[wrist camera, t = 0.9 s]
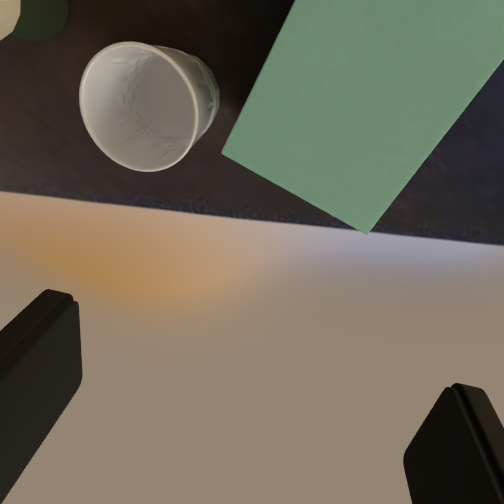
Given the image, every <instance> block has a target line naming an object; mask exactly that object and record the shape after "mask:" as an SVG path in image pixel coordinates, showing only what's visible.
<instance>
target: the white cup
mask: <svg viewBox="0 0 504 504" xmlns="http://www.w3.org/2000/svg"><path fill="white" fill-rule="evenodd" d="M79 103H80V110H81V114H82V118H83V121H84V124H85V126H86V128H87V130H88V132H89V134H90V136H91V137H92V139H93V140H94V142H95V143H96V145H97V146H98V147H99V148H100V149H101V150H102V151H103V152H104V153H105V154H106V155H107V156H108V157H110V158H111V159H112V160H114V161H115V162H117V163H119V164H120V165H122V166H125V167H127V168H130V169H133V170H137V171H144V172H152V171H159V170H163V169H166V168H168V167H170V166H172V165H174V164H175V163H177V162H178V161H179V160H181V159H182V158H183V157H184V156H185V154H186V153H187V152H188V151H189V150H190V149H191V148H192V147H193V146H194V145H195V143H196V142H197V141H198V140H199V139H200V138H201V137H202V135H203V134H204V133H205V132H206V130H207V129H208V127H209V126H210V125H211V124H212V122H213V120H214V117H215V115H216V113H217V111H218V109H219V86H218V84H217V81H216V79H215V77H214V74H213V72H212V70H211V69H210V68H209V67H208V66H207V65H206V64H205V63H204V62H203V61H202V60H201V59H200V58H198V57H197V56H193V55H190V54H187V53H185V52H183V51H180V50H176V49H172V48H168V47H164V46H157V45H151V44H145V43H139V42H119V43H115V44H112V45H110V46H107V47H106V48H104V49H102V50H101V51H99V52H98V53H97V54H96V55H95V56H94V57H93V58H92V59H91V60H90V62H89V63H88V65H87V67H86V68H85V70H84V73H83V75H82V79H81V83H80V89H79Z"/></svg>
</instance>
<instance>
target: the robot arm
mask: <svg viewBox="0 0 504 504" xmlns="http://www.w3.org/2000/svg"><path fill="white" fill-rule="evenodd" d="M79 321H80V320H79V305H78V302H76V301H73V297H72V295H71V294H68V293H63V292H59V291H55V290H50V289H47V290H45V291H43V292H42V293H41V294H40V295H39V296H38V297H37V298H35V299H34V300H33V301H32V302H31V303H30V304H29V305H28V306H27V307H26V308H25V309H23V310H22V312H20V313H19V314H18V315H17V316H16V317H15V318H14V319H13V320H12V321H11V322H9V323H8V324H7V325H6V326H5V327H4V328H3V329H2V330H1V331H0V504H1V503H2V502H3V500H4V499H5V497H6V496H7V494H8V493H9V491H10V490H11V488H12V487H13V486H14V484H15V482H16V481H17V480H18V478H19V477H20V475H21V474H22V472H23V471H24V469H25V468H26V466H27V465H28V463H29V462H30V460H31V458H32V457H33V456H34V454H35V453H36V451H37V450H38V448H39V447H40V445H41V444H42V442H43V441H44V439H45V438H46V436H47V435H48V433H49V432H50V430H51V429H52V427H53V426H54V424H55V423H56V421H57V420H58V418H59V417H60V415H61V414H62V412H63V411H64V409H65V408H66V406H67V405H68V403H69V402H70V400H71V399H72V397H73V396H74V394H75V393H76V391H77V390H78V388H79V386H80V384H81V380H82V360H81V359H82V358H81V339H80V322H79ZM403 464H404V469H405V474H406V478H407V482H408V487H409V491H410V496H411V500H412V504H504V428H503V426H502V424H501V422H500V420H499V418H498V416H497V414H496V412H495V410H494V408H493V406H492V404H491V402H490V400H489V398H488V397H487V395H486V393H485V392H484V390H482V389H481V388H477V387H473V386H468V385H464V384H459V383H455V384H453V385H452V386H451V387H446V388H445V389H444V391H443V392H442V393H441V395H440V397H439V398H438V400H437V401H436V403H435V404H434V406H433V408H432V409H431V411H430V413H429V414H428V416H427V417H426V419H425V421H424V422H423V424H422V425H421V427H420V428H419V430H418V432H417V433H416V435H415V436H414V438H413V439H412V441H411V443H410V444H409V446H408V448H407V449H406V451H405V453H404V459H403Z"/></svg>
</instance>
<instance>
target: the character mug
mask: <svg viewBox="0 0 504 504" xmlns="http://www.w3.org/2000/svg"><path fill="white" fill-rule="evenodd" d="M68 12H69V9H68V0H0V40H1V39H3V38H4V37H6V36H7V35H9V36H13V37H17V38H20V39H25V40H30V41H35V42H37V41H43V40H49V39H52V38H53V37H54V36H55V35H56V34H57V33H59V32H60V31H61V30H62V29H63V27H64V24H65V21H66V18H67V15H68Z"/></svg>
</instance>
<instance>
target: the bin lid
mask: <svg viewBox="0 0 504 504" xmlns="http://www.w3.org/2000/svg"><path fill="white" fill-rule="evenodd" d="M503 59H504V0H295V1H294V3H293V5H292V7H291V9H290V11H289V13H288V16H287V18H286V20H285V22H284V24H283V26H282V28H281V30H280V32H279V34H278V36H277V38H276V40H275V42H274V44H273V46H272V49H271V51H270V53H269V55H268V57H267V59H266V61H265V63H264V65H263V67H262V69H261V71H260V73H259V75H258V77H257V79H256V82H255V84H254V86H253V88H252V90H251V92H250V94H249V96H248V98H247V100H246V102H245V104H244V106H243V108H242V110H241V113H240V115H239V117H238V119H237V121H236V123H235V125H234V127H233V129H232V131H231V133H230V135H229V137H228V139H227V141H226V143H225V146H224V148H223V150H222V152H221V153H222V154H223V155H225V156H227V157H229V158H230V159H232V160H234V161H236V162H238V163H239V164H241V165H243V166H245V167H246V168H248V169H250V170H252V171H254V172H255V173H257V174H259V175H261V176H263V177H264V178H266V179H268V180H270V181H272V182H273V183H275V184H277V185H279V186H280V187H282V188H284V189H286V190H288V191H289V192H291V193H293V194H295V195H297V196H298V197H300V198H302V199H304V200H306V201H307V202H309V203H311V204H313V205H314V206H316V207H318V208H320V209H322V210H323V211H325V212H327V213H329V214H331V215H332V216H334V217H336V218H338V219H339V220H341V221H343V222H345V223H347V224H348V225H350V226H352V227H354V228H356V229H357V230H359V231H361V232H363V233H365V234H368V232H369V231H370V230H371V229H372V227H373V226H374V225H375V223H376V222H377V221H378V220H379V218H380V217H381V216H382V214H383V213H384V212H385V211H386V209H387V208H388V207H389V205H390V204H391V203H392V202H393V200H394V199H395V198H396V197H397V195H398V194H399V193H400V191H401V190H402V189H403V188H404V186H405V185H406V184H407V182H408V181H409V180H410V179H411V177H412V176H413V175H414V173H415V172H416V171H417V170H418V168H419V167H420V166H421V164H422V163H423V162H424V161H425V159H426V158H427V157H428V155H429V154H430V153H431V152H432V150H433V149H434V148H435V147H436V145H437V144H438V143H439V141H440V140H441V139H442V138H443V136H444V135H445V134H446V132H447V131H448V130H449V129H450V127H451V126H452V125H453V123H454V122H455V121H456V120H457V118H458V117H459V116H460V114H461V113H462V112H463V111H464V109H465V108H466V107H467V105H468V104H469V103H470V102H471V100H472V99H473V98H474V96H475V95H476V94H477V93H478V91H479V90H480V89H481V88H482V86H483V85H484V84H485V82H486V81H487V80H488V79H489V77H490V76H491V75H492V73H493V72H494V71H495V70H496V68H497V67H498V66H499V64H500V63H501V62H502V61H503Z"/></svg>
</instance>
